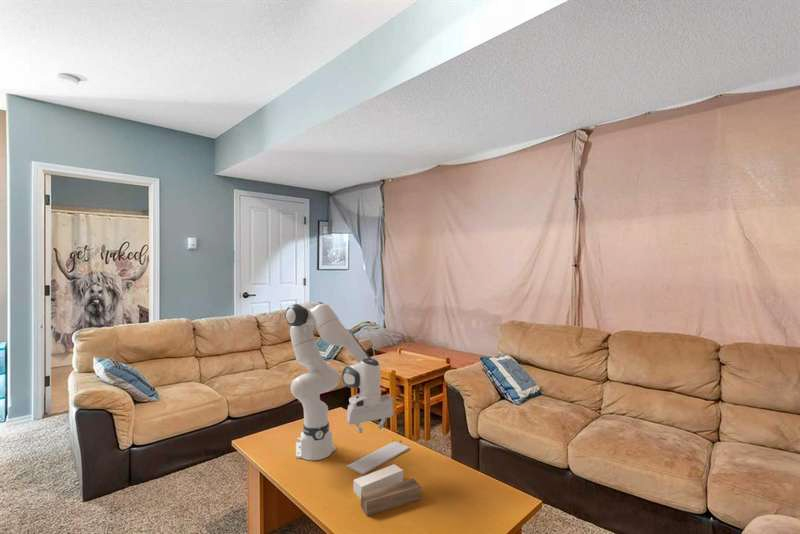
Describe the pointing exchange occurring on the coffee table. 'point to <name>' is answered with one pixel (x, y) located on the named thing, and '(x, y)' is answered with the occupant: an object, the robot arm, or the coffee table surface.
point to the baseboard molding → (377, 457)
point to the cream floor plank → (378, 479)
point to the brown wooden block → (390, 496)
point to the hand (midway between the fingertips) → (370, 430)
